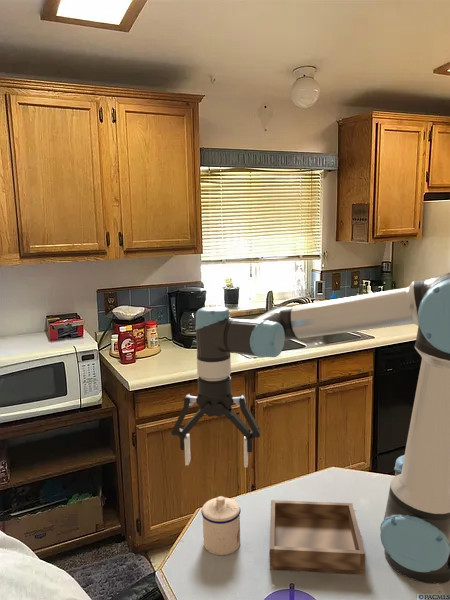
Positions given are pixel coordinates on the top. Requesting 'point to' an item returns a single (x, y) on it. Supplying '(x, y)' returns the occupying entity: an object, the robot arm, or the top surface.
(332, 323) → the robot arm
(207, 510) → the teacup with lid
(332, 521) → the walnut box
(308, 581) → the top surface
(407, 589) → the top surface
